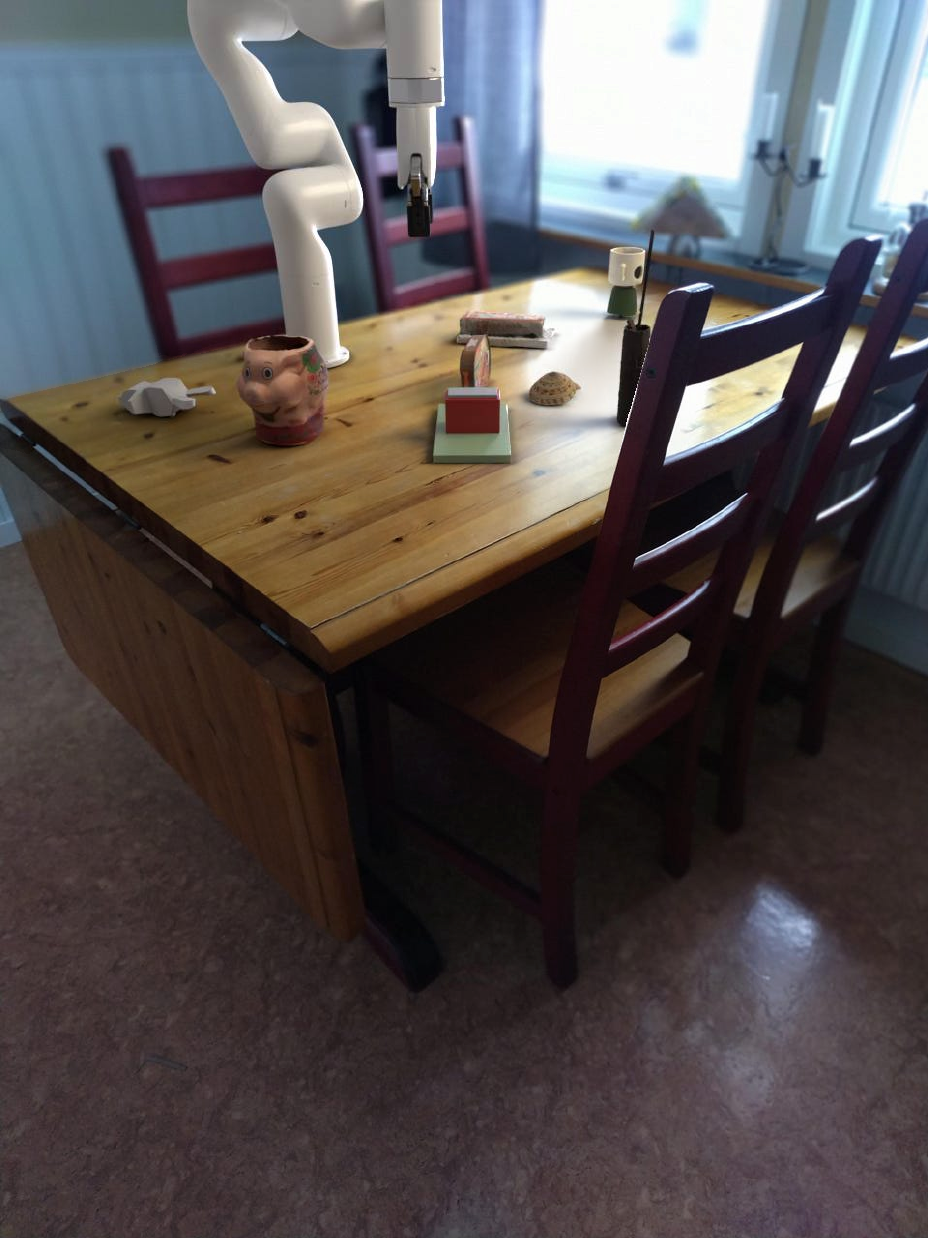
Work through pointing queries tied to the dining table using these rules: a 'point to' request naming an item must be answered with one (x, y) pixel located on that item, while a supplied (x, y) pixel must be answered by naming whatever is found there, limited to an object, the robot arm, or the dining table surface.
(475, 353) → the tin
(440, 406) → the board
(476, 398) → the red rectangular block
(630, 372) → the butter churn
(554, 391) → the seashell
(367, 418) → the dining table surface
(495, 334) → the packaged product
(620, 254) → the character mug
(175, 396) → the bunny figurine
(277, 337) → the decorative planter
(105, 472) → the dining table surface
